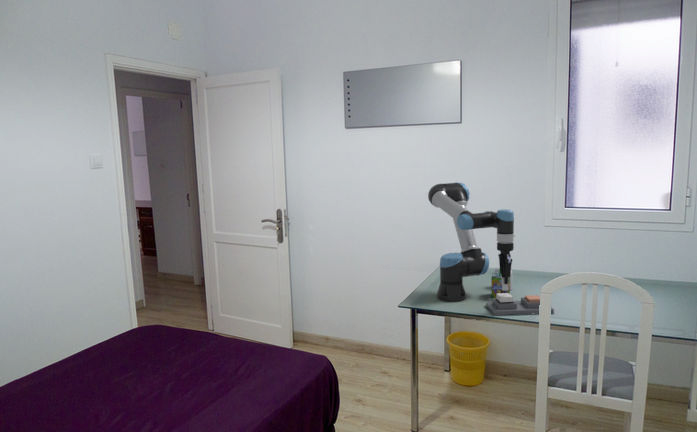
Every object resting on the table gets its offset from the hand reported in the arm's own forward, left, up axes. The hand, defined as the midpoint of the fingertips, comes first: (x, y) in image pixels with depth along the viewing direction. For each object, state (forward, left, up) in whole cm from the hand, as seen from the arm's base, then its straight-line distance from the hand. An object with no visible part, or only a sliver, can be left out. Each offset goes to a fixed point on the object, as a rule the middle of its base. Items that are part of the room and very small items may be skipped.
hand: (505, 289), depth 224 cm
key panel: (+7, 0, -10) cm, 12 cm away
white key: (0, 0, -5) cm, 5 cm away
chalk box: (+5, +21, -11) cm, 24 cm away
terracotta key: (+14, 0, -7) cm, 15 cm away
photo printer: (+11, +35, -10) cm, 38 cm away
